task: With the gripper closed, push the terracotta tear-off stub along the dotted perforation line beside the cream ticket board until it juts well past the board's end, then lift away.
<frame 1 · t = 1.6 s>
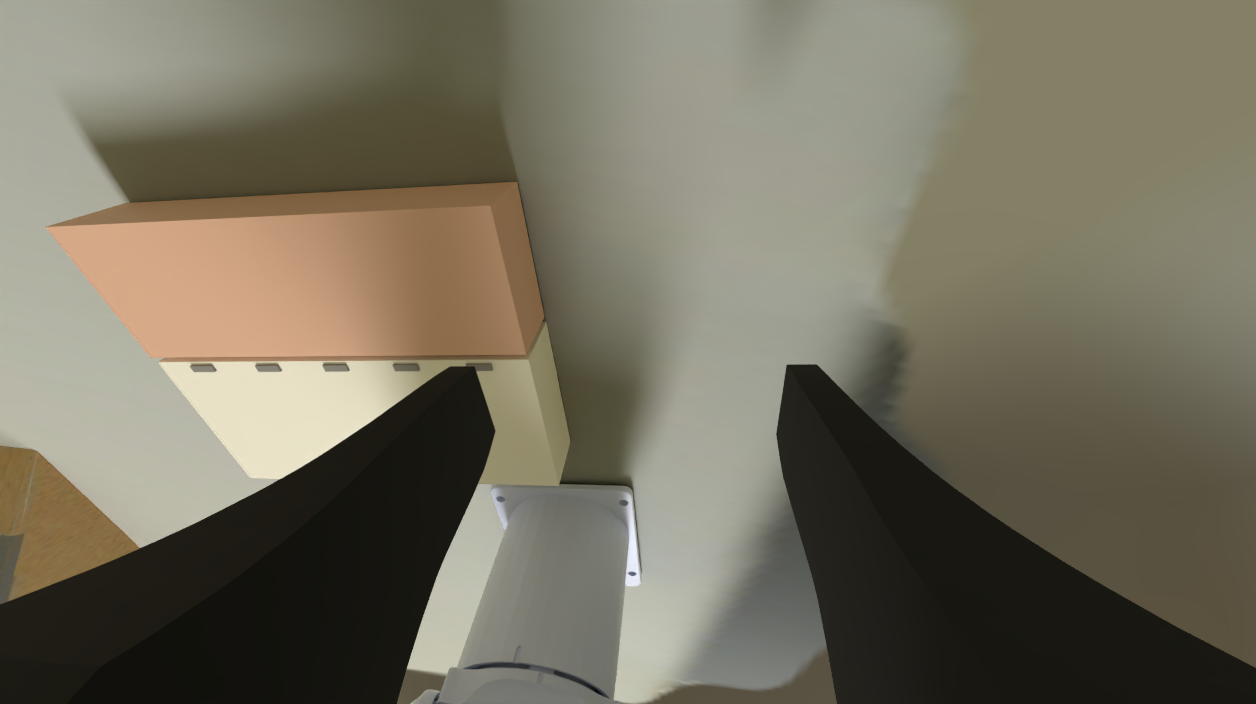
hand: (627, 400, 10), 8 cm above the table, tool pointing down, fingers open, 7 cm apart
ticket board: (400, 387, 22), on the table
sandwich container: (66, 513, 33), on the table
tear-off stub: (320, 276, 17), point 1 cm above the table, slide at 0.0 cm
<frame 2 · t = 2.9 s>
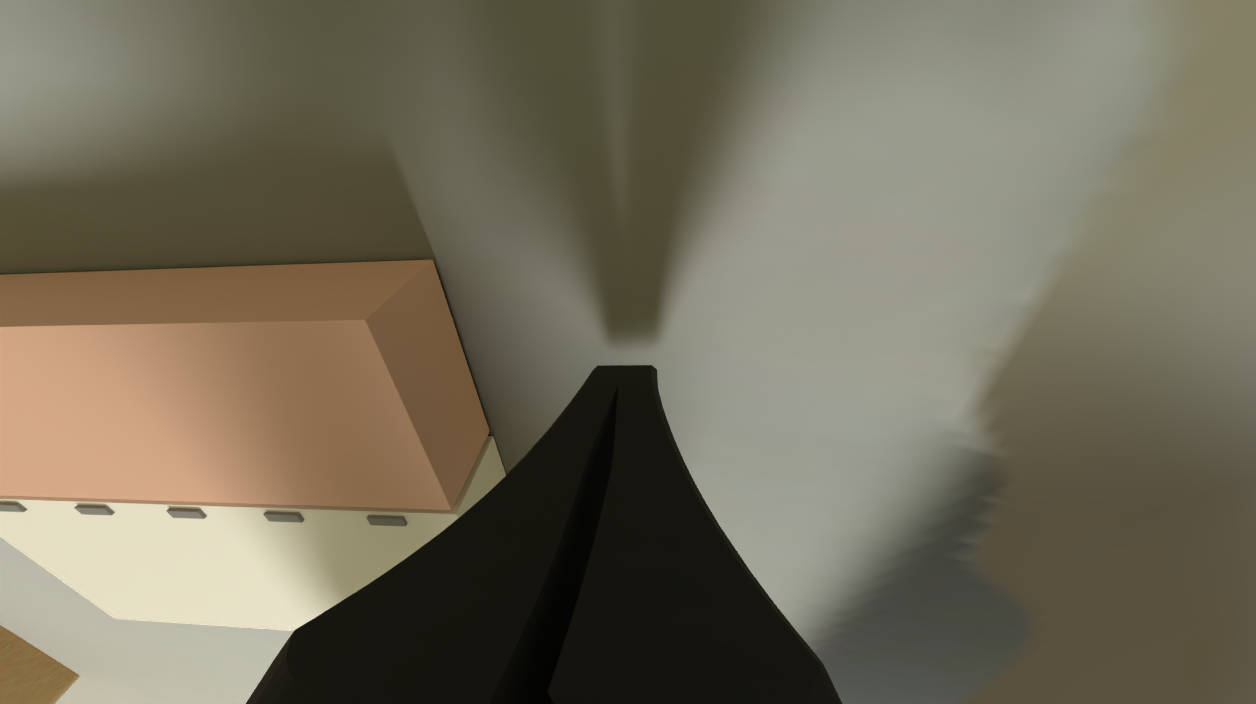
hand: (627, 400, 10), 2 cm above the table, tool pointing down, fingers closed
ticket board: (309, 504, 17), on the table
tear-off stub: (154, 389, 12), point 1 cm above the table, slide at 0.0 cm
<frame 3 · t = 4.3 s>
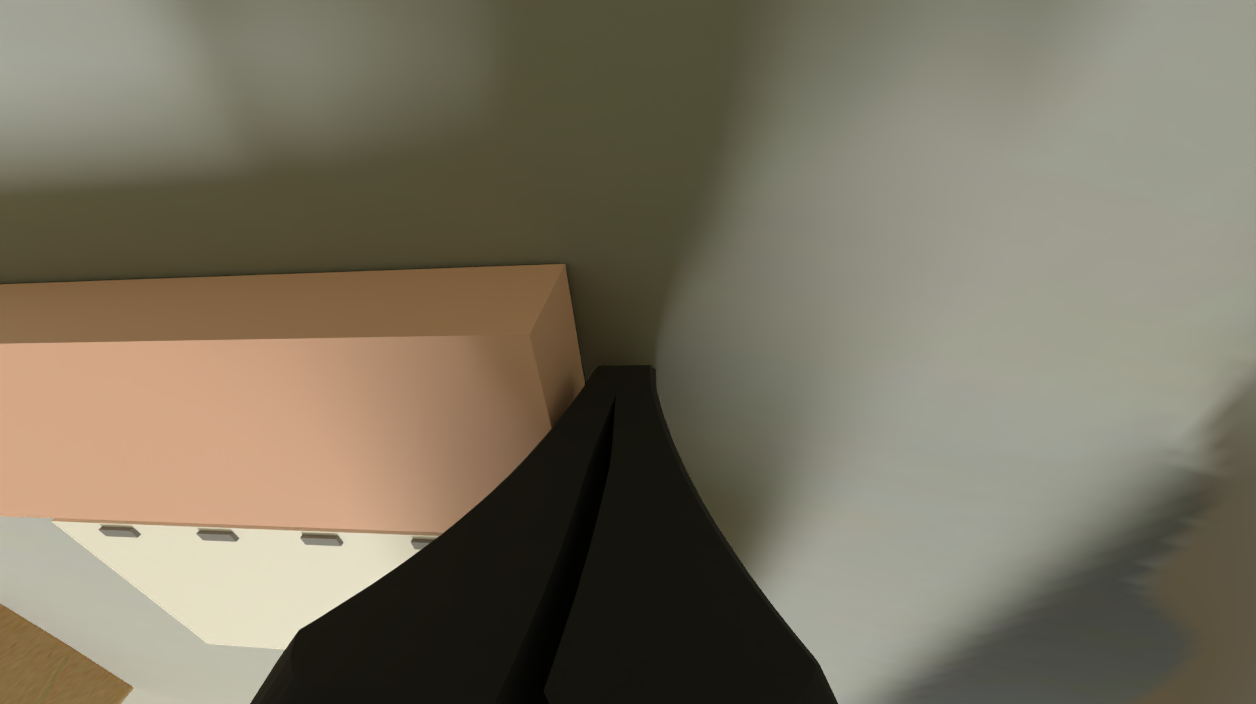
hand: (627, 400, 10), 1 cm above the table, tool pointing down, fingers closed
ticket board: (417, 522, 16), on the table
tear-off stub: (247, 405, 11), point 1 cm above the table, slide at 1.3 cm, touching gripper
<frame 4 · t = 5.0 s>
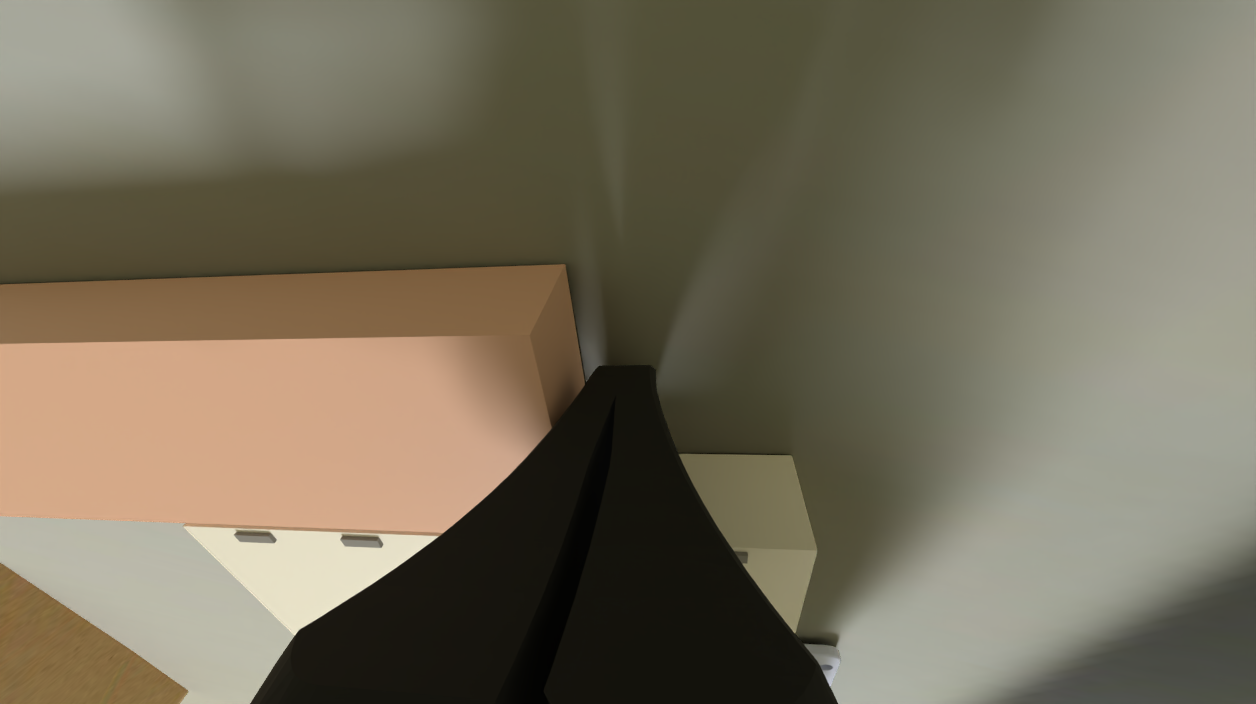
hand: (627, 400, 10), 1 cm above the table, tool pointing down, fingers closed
ticket board: (532, 526, 15), on the table
sandwich container: (50, 623, 26), on the table
tear-off stub: (247, 405, 11), point 2 cm above the table, slide at 5.4 cm, touching gripper
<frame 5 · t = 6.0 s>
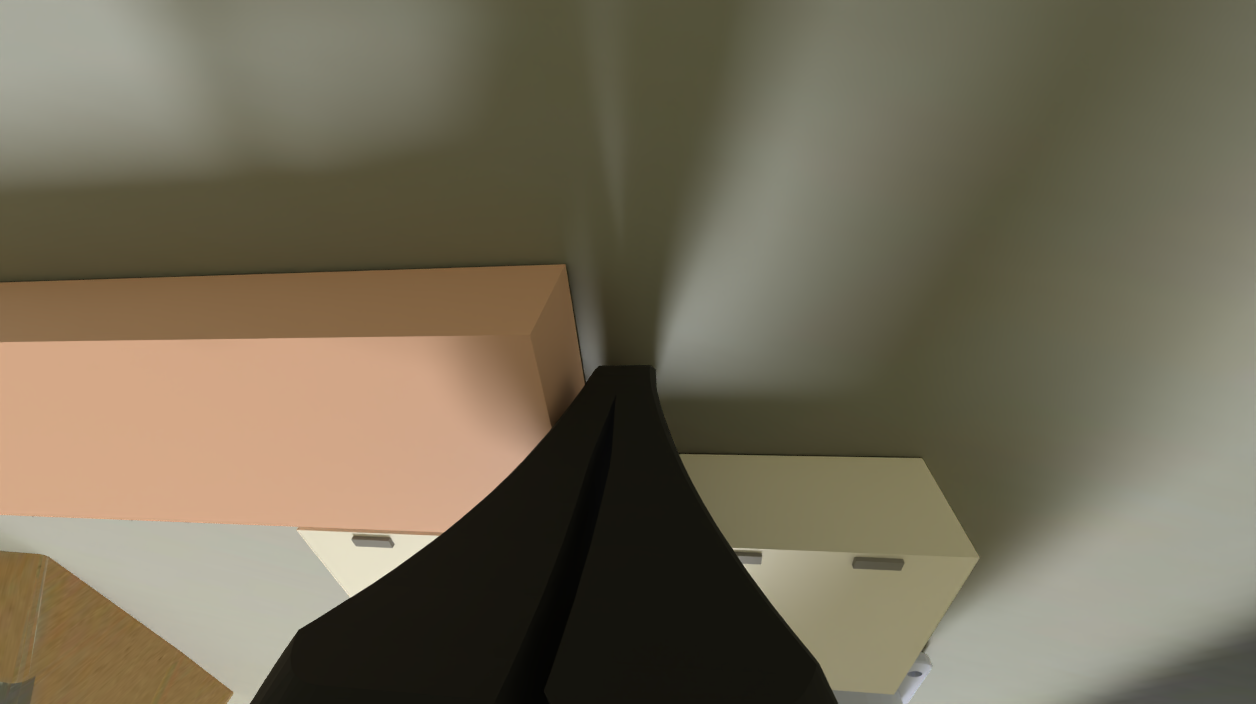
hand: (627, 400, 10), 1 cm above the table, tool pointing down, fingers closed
ticket board: (629, 529, 15), on the table
sandwich container: (97, 623, 25), on the table
tear-off stub: (247, 404, 11), point 2 cm above the table, slide at 8.7 cm, touching gripper
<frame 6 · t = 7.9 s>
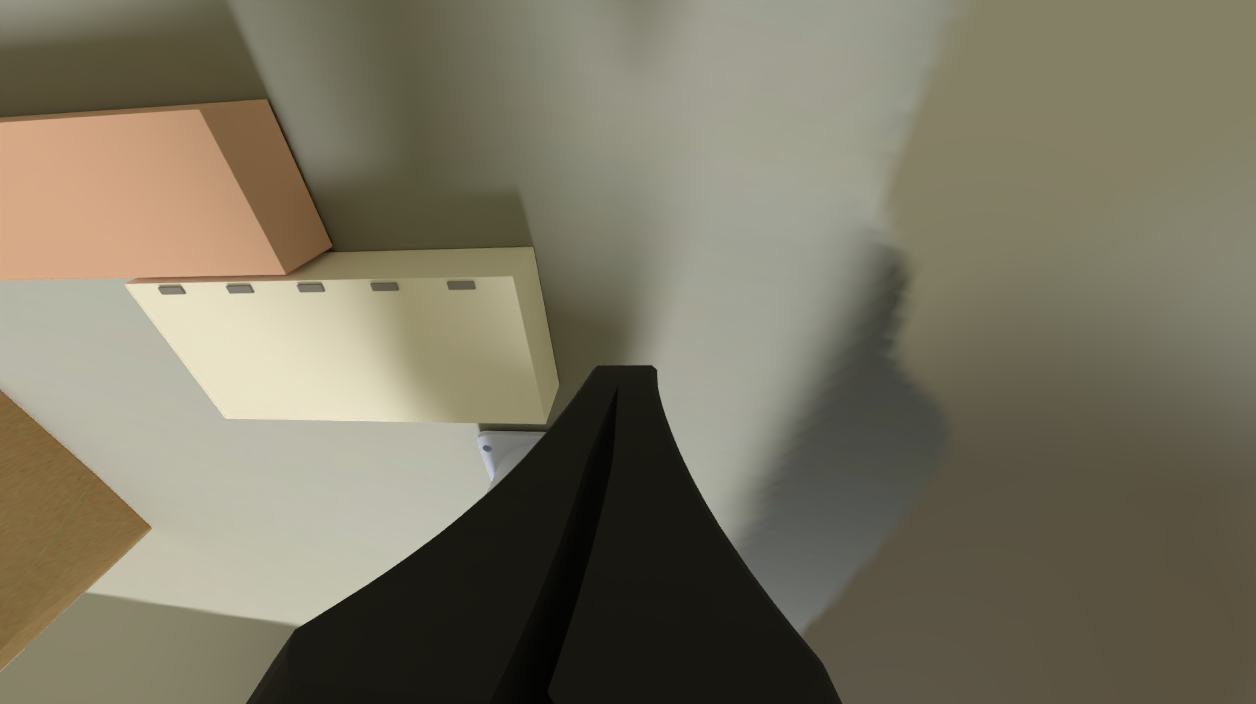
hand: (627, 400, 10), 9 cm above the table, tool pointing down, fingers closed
ticket board: (382, 324, 22), on the table
sandwich container: (31, 454, 31), on the table
tear-off stub: (87, 197, 18), point 2 cm above the table, slide at 8.7 cm
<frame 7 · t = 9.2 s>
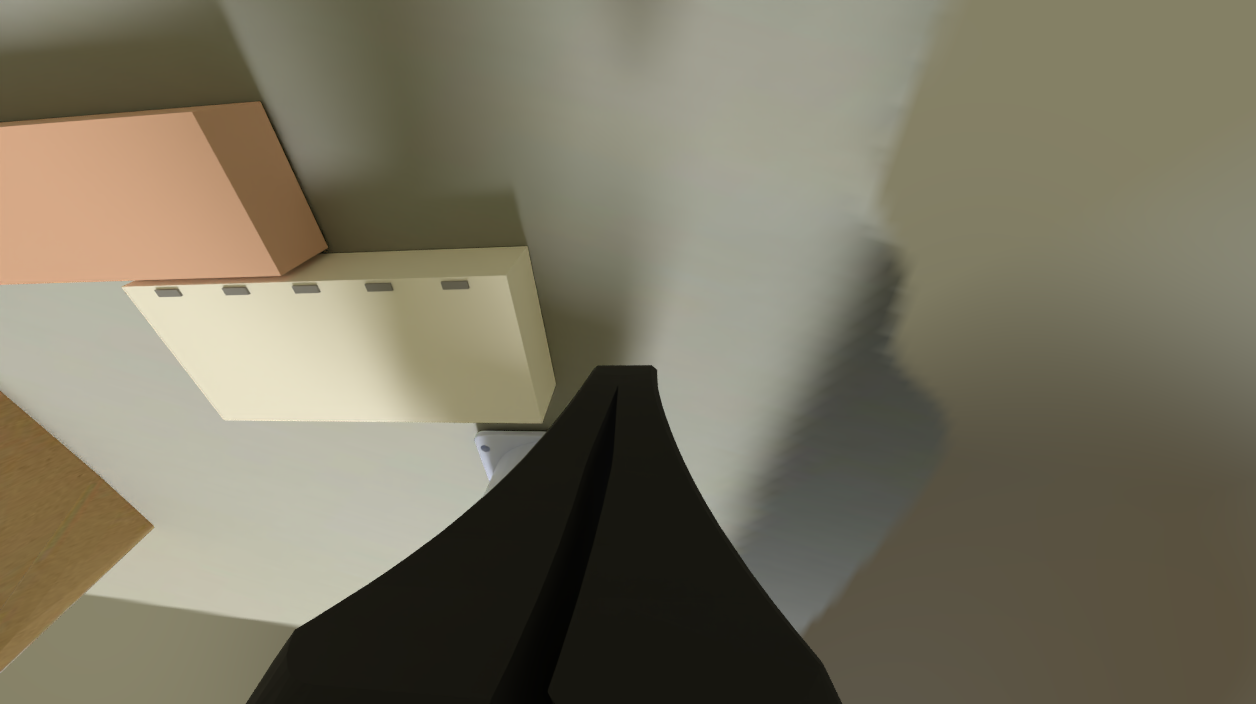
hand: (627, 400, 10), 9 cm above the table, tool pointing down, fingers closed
ticket board: (379, 324, 22), on the table
sandwich container: (33, 453, 31), on the table
tear-off stub: (84, 200, 18), point 1 cm above the table, slide at 8.7 cm
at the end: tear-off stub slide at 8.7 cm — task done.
